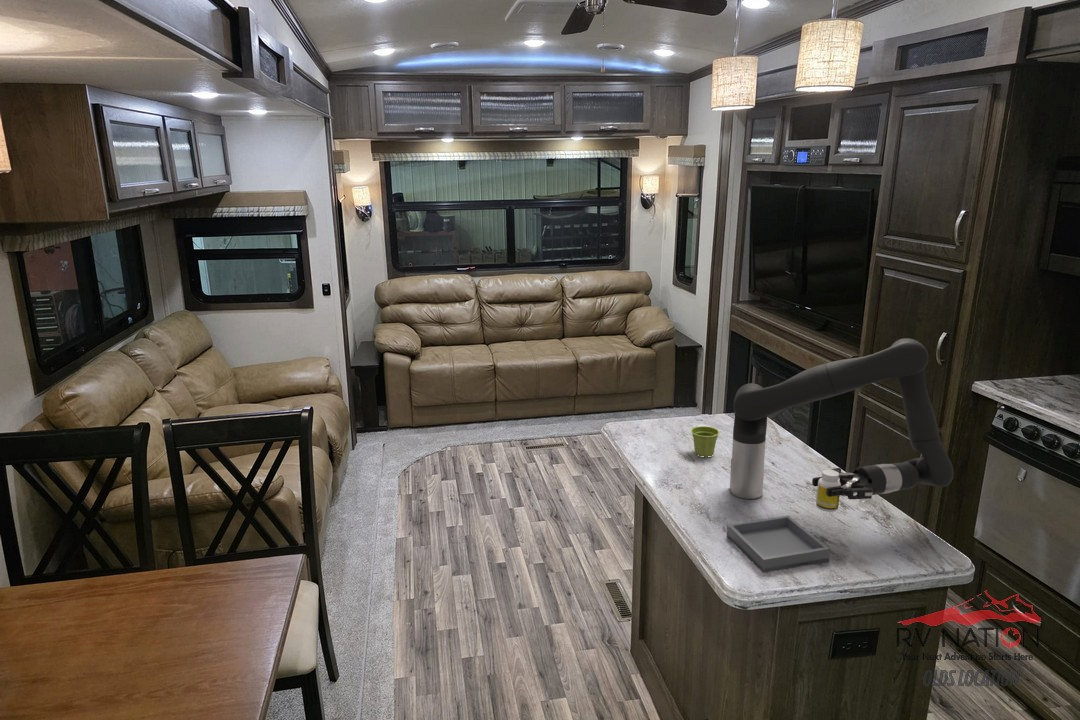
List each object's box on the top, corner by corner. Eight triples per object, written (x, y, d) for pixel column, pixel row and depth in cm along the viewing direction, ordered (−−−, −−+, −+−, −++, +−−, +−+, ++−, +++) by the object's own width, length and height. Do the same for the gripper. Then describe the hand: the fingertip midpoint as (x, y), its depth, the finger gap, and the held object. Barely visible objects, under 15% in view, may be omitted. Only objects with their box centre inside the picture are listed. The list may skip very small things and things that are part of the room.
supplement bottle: (840, 513, 176) (843, 477, 174) (817, 511, 178) (820, 476, 175) (836, 503, 182) (839, 468, 179) (814, 502, 183) (817, 467, 180)
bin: (726, 536, 184) (727, 524, 183) (787, 527, 188) (788, 515, 187) (763, 572, 167) (763, 559, 166) (829, 561, 171) (830, 548, 170)
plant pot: (722, 452, 239) (723, 428, 236) (713, 462, 231) (714, 437, 229) (696, 447, 243) (696, 424, 241) (686, 457, 236) (686, 433, 234)
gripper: (860, 455, 187) (804, 462, 183) (899, 477, 173) (839, 485, 170) (858, 481, 189) (802, 488, 185) (895, 505, 175) (836, 513, 172)
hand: (820, 487), depth 177 cm, fingers closed on supplement bottle, 5 cm apart
